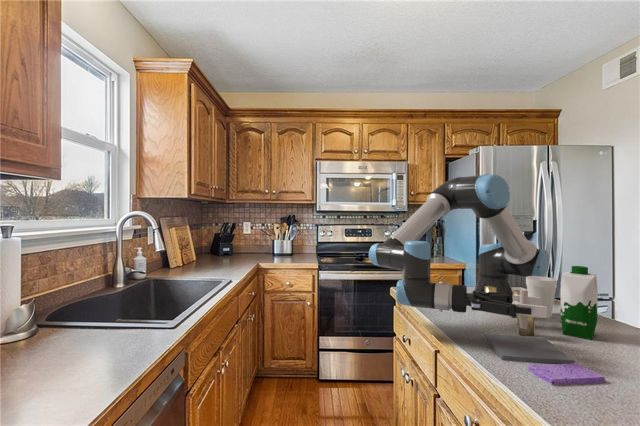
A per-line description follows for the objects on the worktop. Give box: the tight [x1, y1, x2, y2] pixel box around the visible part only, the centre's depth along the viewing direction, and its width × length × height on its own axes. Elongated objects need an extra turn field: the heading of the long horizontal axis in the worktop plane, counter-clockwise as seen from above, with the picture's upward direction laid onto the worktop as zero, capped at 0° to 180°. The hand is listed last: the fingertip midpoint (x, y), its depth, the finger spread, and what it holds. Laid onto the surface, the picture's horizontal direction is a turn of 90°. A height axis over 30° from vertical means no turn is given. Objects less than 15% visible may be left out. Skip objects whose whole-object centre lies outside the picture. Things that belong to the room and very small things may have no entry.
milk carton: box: [560, 265, 599, 341], centre depth 105 cm, size 9×9×20 cm
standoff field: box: [485, 286, 535, 337], centre depth 116 cm, size 12×30×9 cm, turn 170°
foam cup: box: [525, 276, 558, 318], centre depth 125 cm, size 10×9×13 cm
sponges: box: [527, 362, 606, 386], centre depth 77 cm, size 7×13×2 cm, turn 96°
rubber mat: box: [482, 333, 575, 365], centre depth 93 cm, size 16×16×1 cm
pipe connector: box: [512, 288, 535, 329], centre depth 92 cm, size 10×10×10 cm
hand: (543, 307), depth 91 cm, fingers closed on pipe connector, 10 cm apart
